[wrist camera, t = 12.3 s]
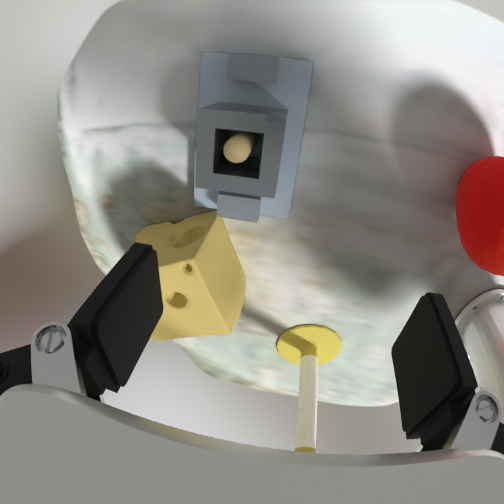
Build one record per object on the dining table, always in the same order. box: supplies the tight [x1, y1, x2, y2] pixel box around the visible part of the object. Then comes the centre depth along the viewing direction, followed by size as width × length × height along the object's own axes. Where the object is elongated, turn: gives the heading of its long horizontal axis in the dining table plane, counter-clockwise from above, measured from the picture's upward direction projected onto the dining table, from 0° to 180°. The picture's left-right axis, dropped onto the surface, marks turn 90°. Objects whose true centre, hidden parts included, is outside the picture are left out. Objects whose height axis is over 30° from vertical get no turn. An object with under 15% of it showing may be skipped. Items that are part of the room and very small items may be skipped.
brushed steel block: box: [195, 102, 288, 199], centre depth 24 cm, size 6×6×6 cm
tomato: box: [456, 156, 504, 276], centre depth 20 cm, size 11×11×13 cm
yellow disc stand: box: [277, 324, 341, 453], centre depth 27 cm, size 10×10×38 cm
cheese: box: [123, 210, 245, 341], centre depth 32 cm, size 10×11×10 cm
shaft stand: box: [194, 52, 314, 223], centre depth 24 cm, size 16×10×7 cm, turn 174°
